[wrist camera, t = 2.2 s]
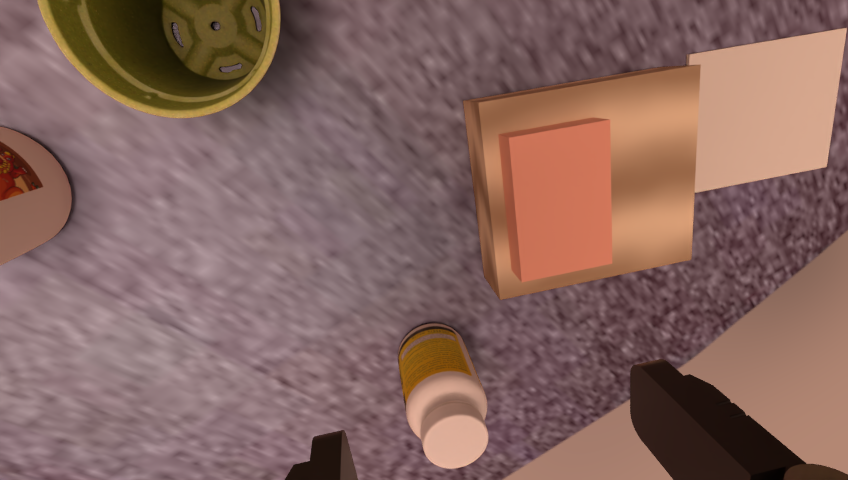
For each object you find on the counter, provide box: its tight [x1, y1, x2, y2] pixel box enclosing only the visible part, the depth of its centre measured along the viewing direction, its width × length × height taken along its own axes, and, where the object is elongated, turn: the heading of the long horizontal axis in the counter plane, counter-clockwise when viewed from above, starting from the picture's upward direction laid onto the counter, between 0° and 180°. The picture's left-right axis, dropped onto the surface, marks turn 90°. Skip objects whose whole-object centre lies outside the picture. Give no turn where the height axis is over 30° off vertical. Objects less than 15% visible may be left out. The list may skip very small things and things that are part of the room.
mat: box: [686, 28, 847, 193], centre depth 33 cm, size 10×12×1 cm
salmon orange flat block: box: [498, 117, 612, 282], centre depth 28 cm, size 9×6×2 cm, turn 9°
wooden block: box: [463, 64, 701, 300], centre depth 31 cm, size 13×14×4 cm
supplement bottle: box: [398, 323, 488, 468], centre depth 32 cm, size 5×5×10 cm
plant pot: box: [38, 0, 281, 118], centre depth 23 cm, size 9×9×9 cm
